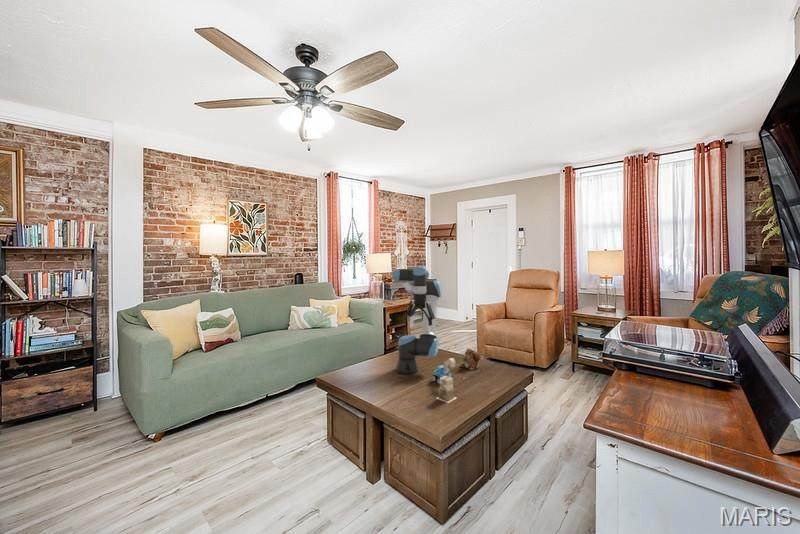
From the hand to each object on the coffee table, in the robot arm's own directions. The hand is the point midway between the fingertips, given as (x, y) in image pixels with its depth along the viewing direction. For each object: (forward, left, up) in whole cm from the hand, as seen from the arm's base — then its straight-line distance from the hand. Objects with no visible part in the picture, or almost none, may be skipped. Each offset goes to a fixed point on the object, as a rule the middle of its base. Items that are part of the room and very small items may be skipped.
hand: (420, 329), depth 194 cm
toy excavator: (+7, +14, -35) cm, 38 cm away
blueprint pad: (+19, -1, -35) cm, 40 cm away
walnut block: (+21, -3, -34) cm, 40 cm away
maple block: (+21, -3, -29) cm, 36 cm away
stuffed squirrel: (+3, +50, -35) cm, 61 cm away
